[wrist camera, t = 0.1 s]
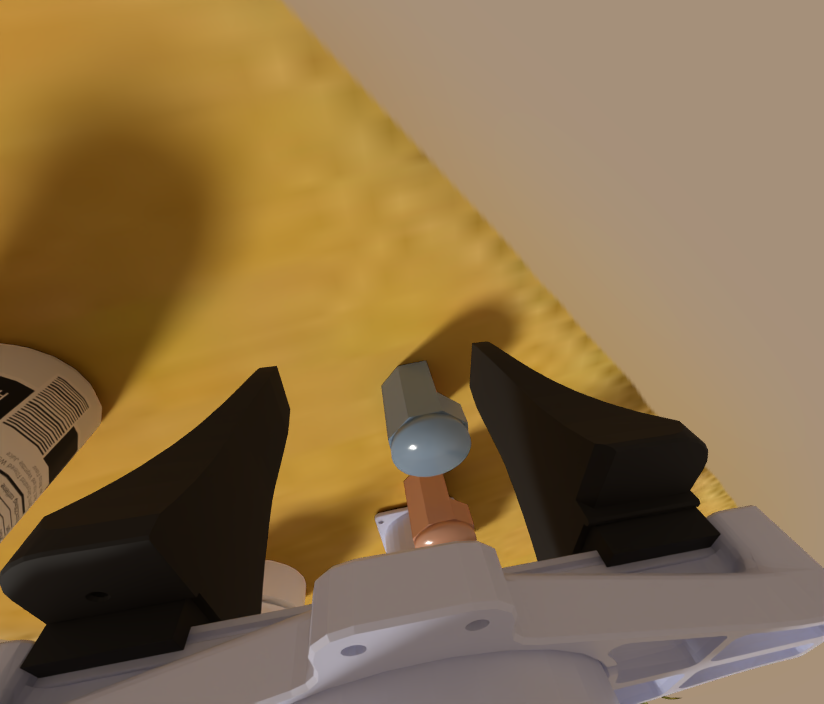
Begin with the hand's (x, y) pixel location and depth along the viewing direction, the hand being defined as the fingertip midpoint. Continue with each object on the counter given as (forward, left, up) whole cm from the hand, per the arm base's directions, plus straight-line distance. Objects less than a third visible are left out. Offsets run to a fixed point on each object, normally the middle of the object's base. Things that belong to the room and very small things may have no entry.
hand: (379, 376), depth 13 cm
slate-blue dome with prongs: (-9, -2, -10) cm, 14 cm away
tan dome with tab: (-21, -2, -10) cm, 23 cm away
